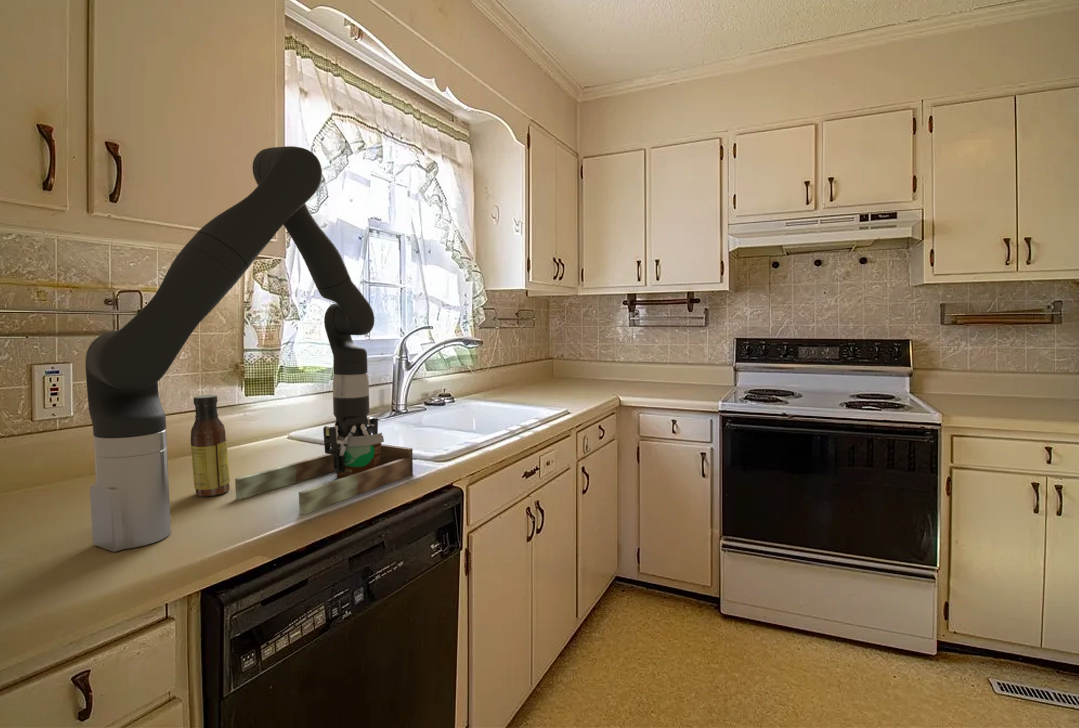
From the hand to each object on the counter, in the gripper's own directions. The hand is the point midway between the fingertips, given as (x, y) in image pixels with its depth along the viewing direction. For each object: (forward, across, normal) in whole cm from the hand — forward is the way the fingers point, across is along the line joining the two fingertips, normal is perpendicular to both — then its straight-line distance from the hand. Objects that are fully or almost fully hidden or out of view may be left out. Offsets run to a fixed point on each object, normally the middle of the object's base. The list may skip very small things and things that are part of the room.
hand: (352, 467), depth 122 cm
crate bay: (+2, -6, 0) cm, 7 cm away
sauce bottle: (+2, -21, +17) cm, 27 cm away
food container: (+3, 0, 0) cm, 3 cm away
